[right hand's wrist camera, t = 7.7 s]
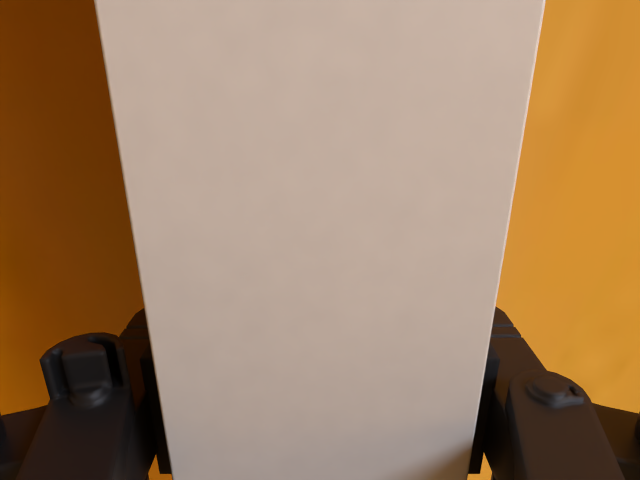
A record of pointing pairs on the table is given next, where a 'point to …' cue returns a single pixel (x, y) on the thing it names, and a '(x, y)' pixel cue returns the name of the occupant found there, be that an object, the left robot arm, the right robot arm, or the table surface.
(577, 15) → the table surface
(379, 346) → the beam
